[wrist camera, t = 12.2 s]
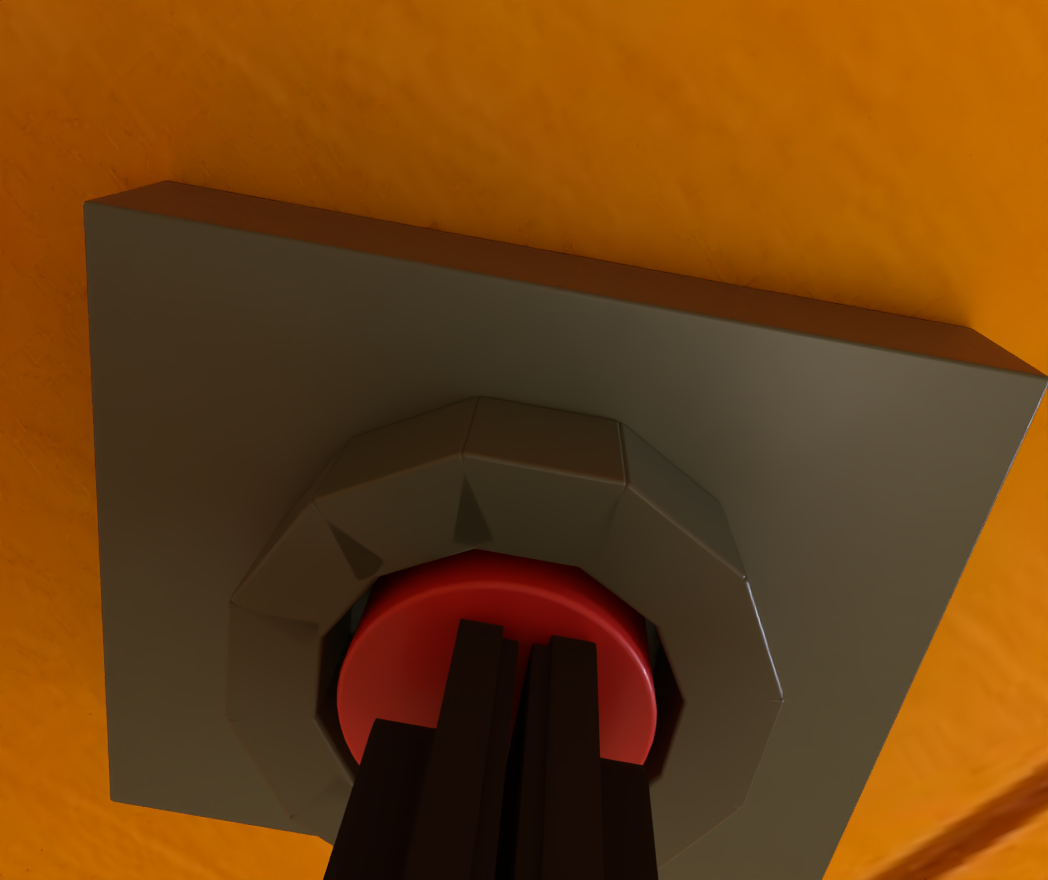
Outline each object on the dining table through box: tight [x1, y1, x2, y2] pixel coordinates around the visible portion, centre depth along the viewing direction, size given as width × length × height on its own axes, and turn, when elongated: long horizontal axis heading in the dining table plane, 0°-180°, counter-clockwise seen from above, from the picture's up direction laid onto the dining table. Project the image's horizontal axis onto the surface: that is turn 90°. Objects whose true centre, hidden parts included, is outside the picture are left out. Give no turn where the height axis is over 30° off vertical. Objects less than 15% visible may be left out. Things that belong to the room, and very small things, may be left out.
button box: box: [84, 181, 1048, 880], centre depth 12 cm, size 12×10×4 cm
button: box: [337, 549, 657, 765], centre depth 11 cm, size 4×4×2 cm
